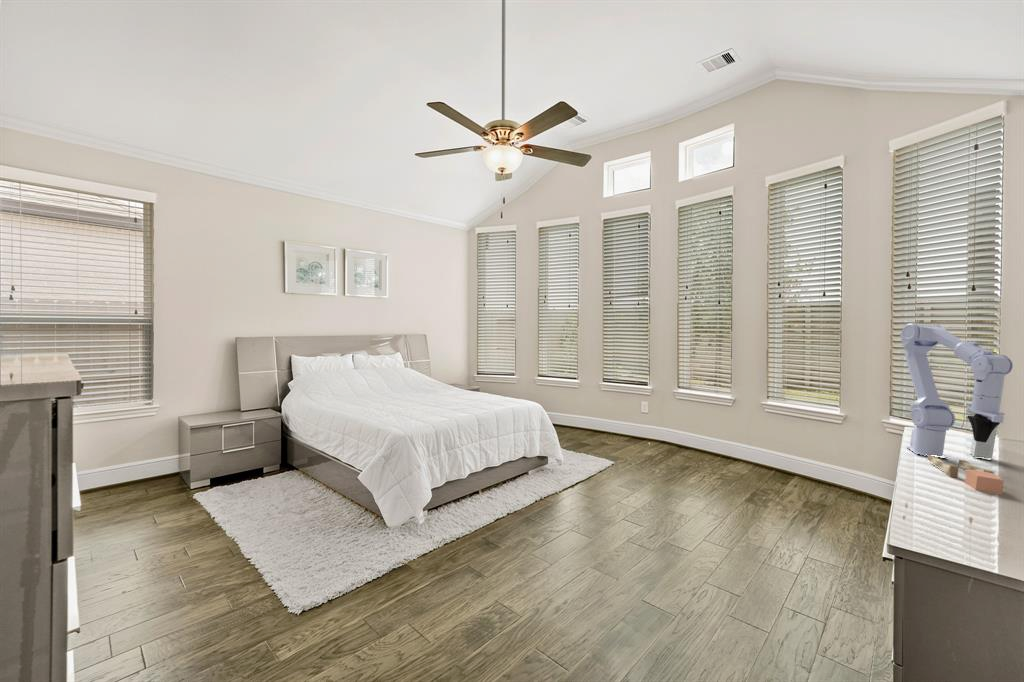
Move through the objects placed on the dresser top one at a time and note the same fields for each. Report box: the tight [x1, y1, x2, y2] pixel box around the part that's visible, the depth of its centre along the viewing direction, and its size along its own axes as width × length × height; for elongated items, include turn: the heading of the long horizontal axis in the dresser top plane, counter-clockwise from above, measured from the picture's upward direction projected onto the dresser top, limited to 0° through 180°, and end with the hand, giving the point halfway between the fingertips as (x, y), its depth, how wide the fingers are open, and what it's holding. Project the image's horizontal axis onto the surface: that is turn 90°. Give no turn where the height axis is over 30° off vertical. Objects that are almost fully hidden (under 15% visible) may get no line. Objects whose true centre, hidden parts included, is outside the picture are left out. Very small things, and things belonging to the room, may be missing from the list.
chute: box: [926, 455, 995, 479], centre depth 131 cm, size 15×9×3 cm, turn 155°
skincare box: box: [970, 426, 998, 459], centre depth 146 cm, size 6×4×12 cm
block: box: [964, 469, 1005, 495], centre depth 118 cm, size 6×5×4 cm
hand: (980, 441), depth 130 cm, fingers closed
